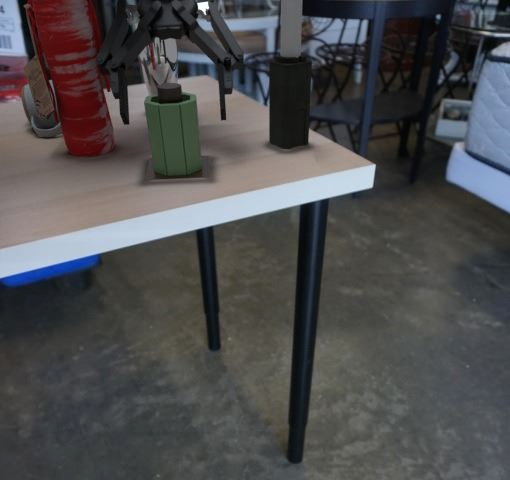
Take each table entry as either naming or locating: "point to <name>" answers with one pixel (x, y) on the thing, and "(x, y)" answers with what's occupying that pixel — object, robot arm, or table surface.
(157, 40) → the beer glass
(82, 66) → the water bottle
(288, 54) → the candle
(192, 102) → the green ring
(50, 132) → the ceramic mug
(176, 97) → the walnut peg
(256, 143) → the table surface
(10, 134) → the table surface
